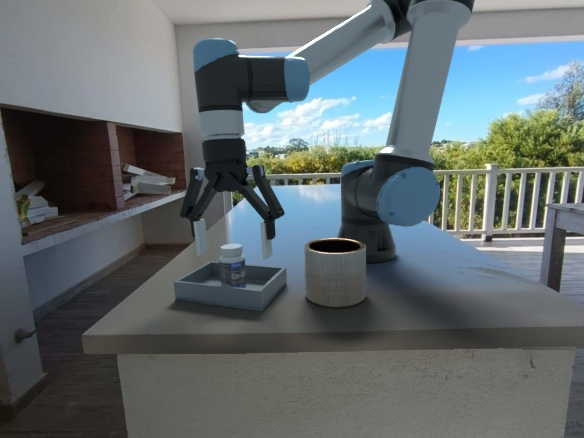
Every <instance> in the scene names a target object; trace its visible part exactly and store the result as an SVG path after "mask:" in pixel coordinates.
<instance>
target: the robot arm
mask: <svg viewBox="0 0 584 438" xmlns="http://www.w3.org/2000/svg"><path fill="white" fill-rule="evenodd" d="M475 1H476V0H369V1H368V3H367V4H366V8H365V9H363V10H362V11H360V12H358V13H357V14H355V15H353V16H352V17H350V18H349V19H347V20H345V21H343V22H342V23H340V24H339V25H336V26H335V27H333V28H332V29H330V30H328V31H327V32H324V34H322V35H320V36H319V37H317V38H315V39H313V40H312V41H310V42H309V43H307V44H305V45H303V46H302V47H300V48H298V49H296V51H293V52H292V53H290V54H289V55H283V56H281V55H278V56H274V55H273V56H271V55H267V56H266V55H265V56H264V55H263V56H262V55H242V54H240V51H239V48H238V45H237V43H235V41H232V40H230V39H223V38H218V37H214V38H205V39H201V40H199V41H198V42H196V43H195V44H194V46H193V50H192V57H193V59H192V60H193V75H194V83H195V84H194V85H195V92H196V100H197V109H198V119H199V120H198V121H199V131H200V133H199V134H200V136H201V138H203V139H204V140H203V141H202V142H201V147H202V158H203V161H204V164H205V166H204V168H202V167H200V166H199V167H191V168H190V169H189V182H188V186H187V189H186V192H185V194H184V195H185V196H184V199H183V201H182V205H181V209H180V212H179V216H180V218H183V219H187V220H188V221H189V223H190V230H191V231H190V232H191V236H192V238H195V240H194V241H195V246H196V248H195V249H196V255H197V256H202V255H204V254H206V253H208V252H209V243H208V234H207V226H206V218H203V215H204V213H205V211H206V210H207V209H208V208H209V205H210V204H211V202H212V201H213V199H214V197H215V196H216V195H217V193H224V192H227V193H234V192H238V194H240V195H241V196H242V197H243V198H244V199H245V200H246V201H247V202H248V203H249V204H250V206H251V207H252V208H253V210H255V212H256V213H257V214H258V215H259V216H260V218H261V219H262V220H263V221H261V222H259V224H260V225H259V227H260V238H261V252H262V259H263V260H267V259H269V258H270V257H271V256H273V245H272V241H273V239H275V238H276V220H277V219H280V218H282V217H284V215H285V213H286V212H285V210H284V208H283V206H282V205H281V203H280V201H279V199H278V197H277V195H276V193H275V192H274V190H273V188H272V186H271V183H270V182H269V181H268V178H267V177H266V170H265V167H264V165H263V164H255V165H253V166H248V165H247V147H246V146H247V145H246V140H245V139H243V138H242V137H243V136H244V135H245V124H244V114H243V112H244V111H243V110H244V109H243V103H245V105H246V107H247V108H248V109H249V110H250V111H252V112H253V113H256V114H267V113H269V112H272V110H274V109H275V108H276V107H278V106H280V105H281V104H283V103H289V104H292V103H297V102H298V103H299V102H303V101H305V100H306V99H307V97H308V95H309V92H310V86H312V85H313V84H315V83H316V82H318V81H319V80H322V79H323V78H325V77H327V76H328V75H329V74H331V73H333V72H334V71H336V70H337V69H340V67H341V68H342V66H344V65H346V64H348V63H349V62H351V61H353V60H354V59H356V58H357V57H359V56H360V55H362V54H364V53H365V52H367V51H369V50H370V49H372V48H373V47H375V46H376V45H378V44H382V45H385V44H389V43H390V42H392V41H393V40H395V39H397V38H398V37H402V36H403V35H405V34H408V33H410V35H409V40H408V43H407V49H406V53H405V57H404V63H403V65H402V70H401V76H400V80H399V83H398V88H397V93H396V97H395V101H394V106H393V111H392V115H391V120H390V124H389V128H388V133H387V138H386V142H385V145H384V147H383V148H382V149H381V150H378V152H376V153H375V157H374V159H370V160H368V159H367V160H360V161H353V162H347V163H345V164H344V165H343V166H342V168H341V170H340V171H341V172H340V179H339V180H340V214H341V215H340V216H341V218H340V227H339V231H338V234H337V236H336V238H346V239H353V240H357V241H360V242H362V243H364V244H365V245H366V264H373V263H374V264H375V263H382V262H388V261H391V260H394V258H396V256H397V255H396V254H397V252H396V251H397V250H396V249H397V246H396V243H395V239H394V236H393V233H392V229H391V226H390V225H392V226H398V227H403V228H405V227H407V228H408V227H413V226H416V225H419V224H421V223H423V221H425V220H427V219H428V218H430V216H432V214H433V212H435V210H436V208H437V206H438V204H439V200H440V197H441V186H440V183H438V178H437V177H436V175H435V174H434V170H435V169H434V168H435V166H436V165H435V164H436V162H435V160H434V159H433V158H432V156H431V155H430V150H431V146H432V142H433V140H434V139H433V138H434V134H435V131H436V126H437V121H438V118H439V113H440V109H441V106H442V101H443V97H444V93H445V89H446V86H447V81H448V77H449V72H450V69H451V65H452V59H453V55H454V51H455V46H456V44H457V43H456V42H457V39H458V35H459V30H461V29H462V28H463V27H465V26H466V25H467V24H468V23H469V22H470V20H471V18H472V13H473V9H474V4H475ZM249 175H250V178H252V179H253V180H254V183H255V185H256V187H257V189H258V191H259V192H260V194H261V197H263V199H262V198H261V197H260V196H259V195H258V192H256V191H255V190H254V189H253V186H252V185H251V183H250V182H249V181H248V180H247V179H248V177H249ZM205 178H206V179H207V181H208V182H207V183H206V185H205V187H204V188H203V192H202V194H201V196H200V197H199V194H200V192H201V188H202V184H203V183H204V182H203V181H204V179H205ZM198 198H199V199H198Z"/></svg>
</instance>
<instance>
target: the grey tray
mask: <svg viewBox="0 0 584 438" xmlns="http://www.w3.org/2000/svg"><path fill="white" fill-rule="evenodd" d="M245 271H246V288H240V287H231V286H222V285H221V278H220V263H219V261H213V260H210V261H208V262H207V263H205V264H203V265H201V266H199V267H198V268H196V269H194V270H192V271H190V272H189V273H187V274H185V275H184V276H181V277H180V278H178V279H176V280H174V281H173V289H174V299H175V301H180V302H187V303H188V302H189V303H195V304H196V303H197V304H202V305H204V304H205V305H211V306H219V307H220V306H221V307H227V308H235V309H242V310H250V311H258V312H259V311H260V312H263V311H264V310H265V309H266V308H267V306H268V305H270V303H271V302H272V301H273V300H274V299H275V298H276V297H277V296H278V295H279V293H281V291H282V290H283V289H284V288H285V287H286V286H287V285H288V279H287V274H288V273H287V267H285V266H276V265H275V266H273V265H262V264H261V265H260V264H248V263H245Z"/></svg>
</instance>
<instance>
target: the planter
mask: <svg viewBox="0 0 584 438" xmlns="http://www.w3.org/2000/svg"><path fill="white" fill-rule="evenodd" d="M304 291H305V292H304V294H305V297H306V298H307V299H308V300H309V301H310V302H312V303H313V304H315V305H318V306H321V307H326V308H333V309H340V308H349V307H353V306H355V305H358V304H359V303H361V302H362V301H364V299H366V296H367V263H366V245H365V244H364V243H362V242H360V241H357V240H353V239H346V238H337V237H327V238H318V239H313V240H310V241H308V242H306V243H305V244H304Z"/></svg>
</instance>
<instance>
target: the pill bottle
mask: <svg viewBox="0 0 584 438" xmlns="http://www.w3.org/2000/svg"><path fill="white" fill-rule="evenodd" d="M243 251H244V250H243V245H242V244H240V243H228V244H224V245H221V246H220V255H221V256H220V257H219V259H218V260H219V261H218V262H219V263H220V278H221V285H222V286H231V287H240V288H246V271H245V264H246V258H245V257H246V256H245V255H244V254H243Z"/></svg>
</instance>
